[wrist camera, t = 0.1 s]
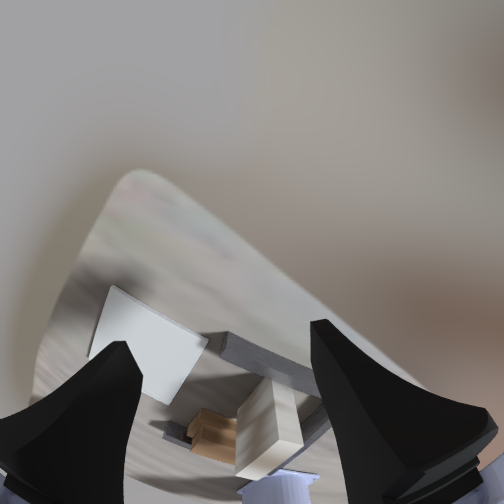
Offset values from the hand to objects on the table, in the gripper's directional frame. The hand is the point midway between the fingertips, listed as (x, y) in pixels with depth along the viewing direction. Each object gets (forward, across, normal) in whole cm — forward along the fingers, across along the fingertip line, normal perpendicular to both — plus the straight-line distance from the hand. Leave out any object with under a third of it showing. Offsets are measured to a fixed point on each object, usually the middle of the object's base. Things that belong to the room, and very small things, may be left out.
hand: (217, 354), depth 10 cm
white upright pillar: (+8, -1, +14) cm, 16 cm away
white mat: (+9, +9, +8) cm, 15 cm away
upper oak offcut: (+6, +3, +18) cm, 20 cm away
